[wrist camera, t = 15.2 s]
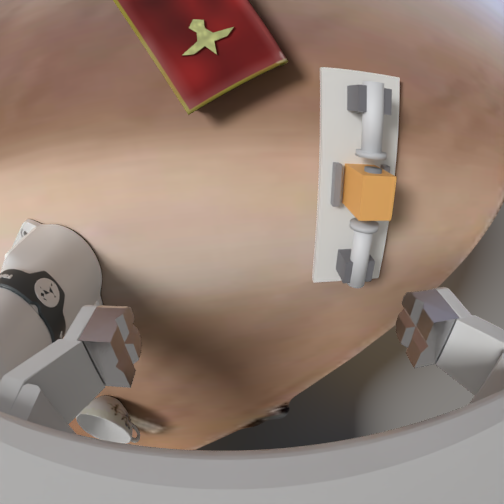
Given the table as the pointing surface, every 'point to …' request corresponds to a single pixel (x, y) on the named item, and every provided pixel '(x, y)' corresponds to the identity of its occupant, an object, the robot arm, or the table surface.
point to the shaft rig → (352, 152)
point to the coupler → (368, 192)
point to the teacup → (107, 420)
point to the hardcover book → (203, 44)
